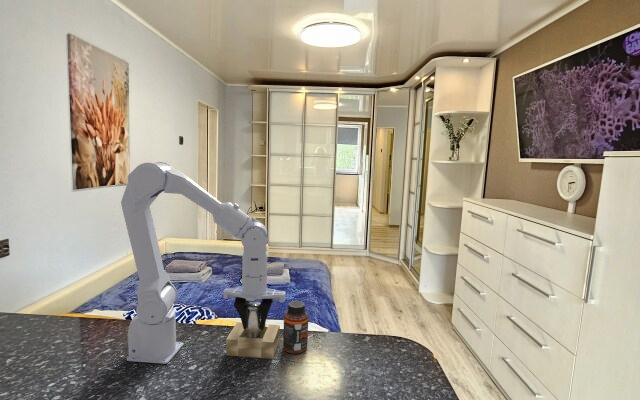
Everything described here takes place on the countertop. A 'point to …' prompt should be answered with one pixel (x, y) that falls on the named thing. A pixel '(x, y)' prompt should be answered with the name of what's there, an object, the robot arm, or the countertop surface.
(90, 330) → the countertop surface
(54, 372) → the countertop surface
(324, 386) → the countertop surface
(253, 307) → the pin
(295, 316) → the supplement bottle
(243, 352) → the hole block
